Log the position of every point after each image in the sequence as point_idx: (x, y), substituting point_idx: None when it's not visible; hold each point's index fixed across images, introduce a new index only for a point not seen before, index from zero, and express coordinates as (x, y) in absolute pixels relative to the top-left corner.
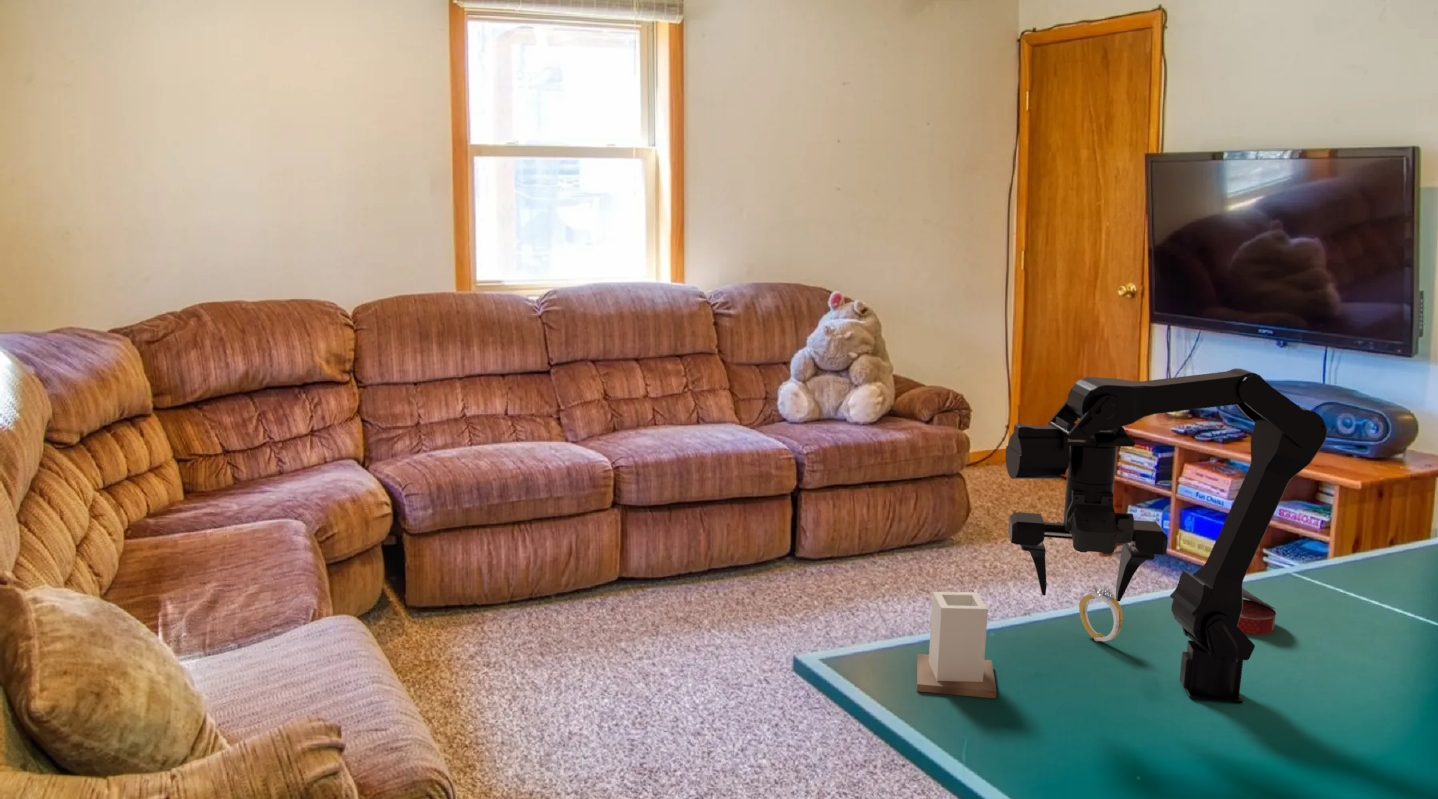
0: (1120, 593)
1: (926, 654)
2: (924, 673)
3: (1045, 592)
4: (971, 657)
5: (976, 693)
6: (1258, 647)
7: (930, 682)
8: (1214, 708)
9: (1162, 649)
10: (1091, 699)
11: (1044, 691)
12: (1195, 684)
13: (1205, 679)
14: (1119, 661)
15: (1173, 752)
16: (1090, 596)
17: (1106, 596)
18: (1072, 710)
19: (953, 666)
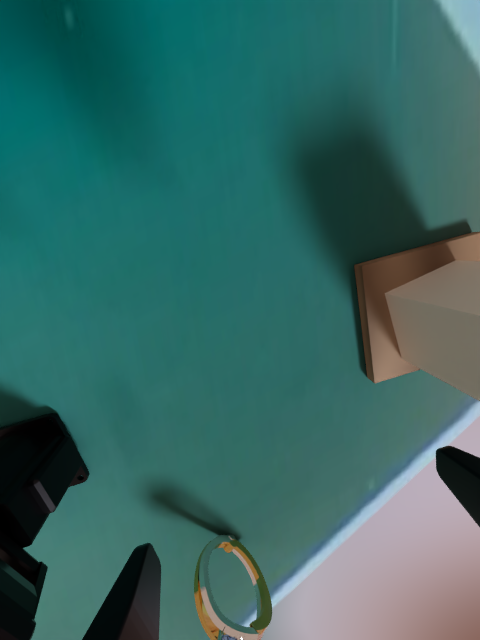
0: (123, 589)
1: None
2: None
3: (451, 456)
4: (444, 289)
5: (387, 257)
6: None
7: (465, 248)
8: (13, 400)
9: None
10: (209, 336)
11: (283, 330)
12: (43, 444)
13: (13, 451)
14: (189, 489)
15: (33, 179)
16: (258, 626)
17: (228, 638)
18: (232, 278)
19: (456, 274)
